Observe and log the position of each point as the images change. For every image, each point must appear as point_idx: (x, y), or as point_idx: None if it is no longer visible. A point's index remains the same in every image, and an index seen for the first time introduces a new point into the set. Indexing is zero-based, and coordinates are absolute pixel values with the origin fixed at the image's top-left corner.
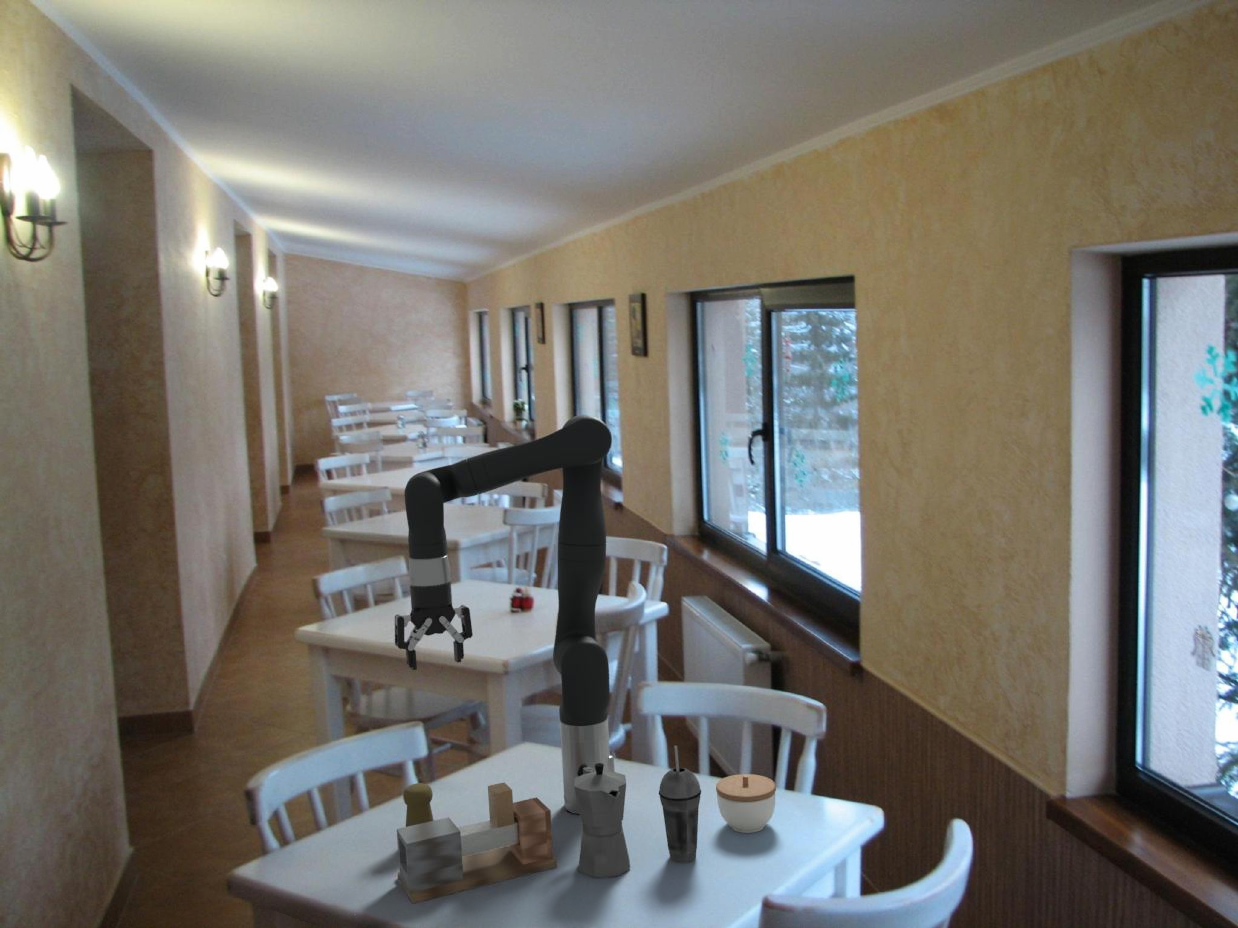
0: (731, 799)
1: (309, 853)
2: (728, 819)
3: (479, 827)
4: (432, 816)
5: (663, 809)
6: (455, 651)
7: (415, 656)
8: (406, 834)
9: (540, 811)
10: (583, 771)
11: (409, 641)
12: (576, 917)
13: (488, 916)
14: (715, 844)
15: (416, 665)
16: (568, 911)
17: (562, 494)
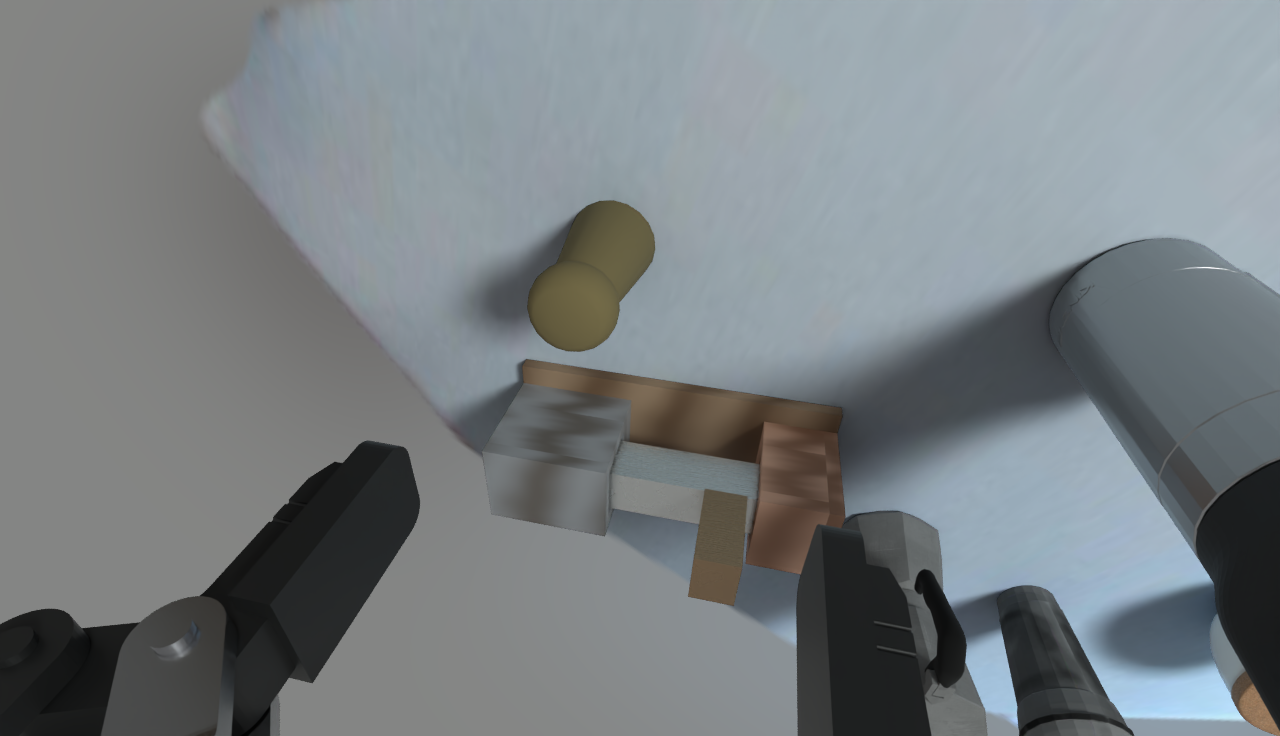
0: (1232, 695)
1: (342, 109)
2: (1211, 633)
3: (666, 502)
4: (626, 292)
5: (1023, 690)
6: (810, 653)
7: (346, 621)
8: (498, 482)
9: (800, 569)
10: (929, 677)
11: (162, 704)
12: (738, 609)
13: (629, 541)
14: (1122, 609)
15: (400, 545)
16: (738, 594)
17: None
